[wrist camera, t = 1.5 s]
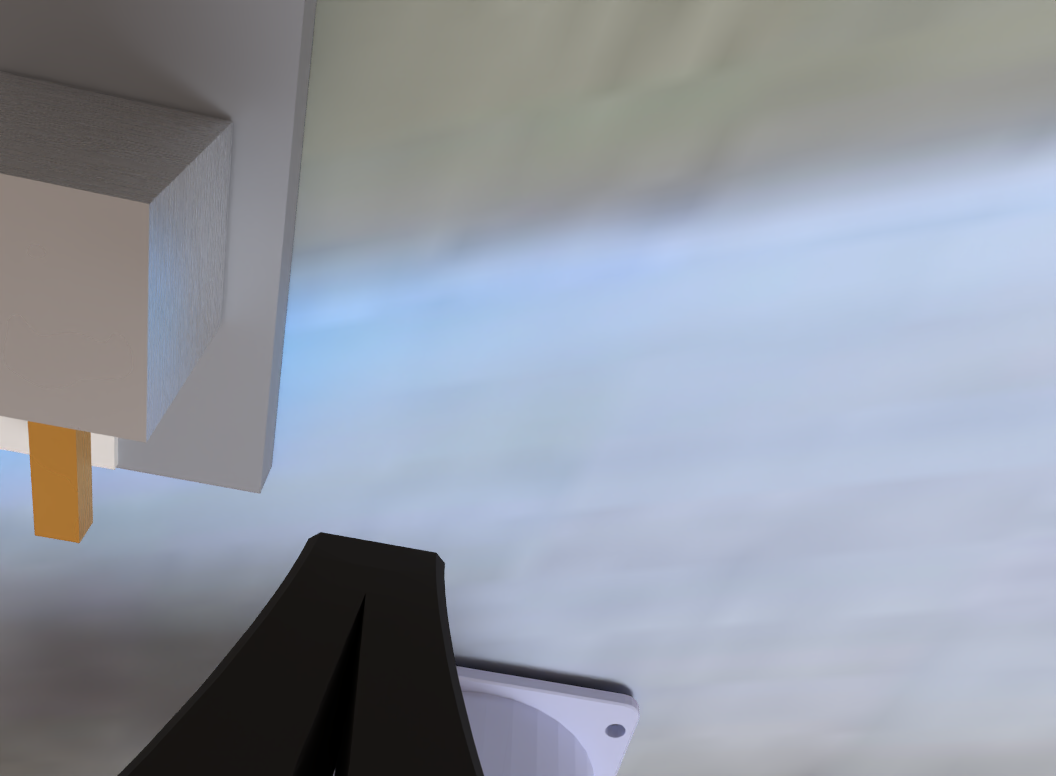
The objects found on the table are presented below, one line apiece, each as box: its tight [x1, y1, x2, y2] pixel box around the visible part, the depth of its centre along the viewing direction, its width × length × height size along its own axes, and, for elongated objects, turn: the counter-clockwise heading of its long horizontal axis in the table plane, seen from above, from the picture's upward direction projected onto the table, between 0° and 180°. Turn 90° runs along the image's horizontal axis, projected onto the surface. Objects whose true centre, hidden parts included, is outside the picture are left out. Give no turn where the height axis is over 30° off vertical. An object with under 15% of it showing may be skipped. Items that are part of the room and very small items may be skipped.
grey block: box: [0, 71, 233, 543], centre depth 16 cm, size 8×4×4 cm, turn 168°
